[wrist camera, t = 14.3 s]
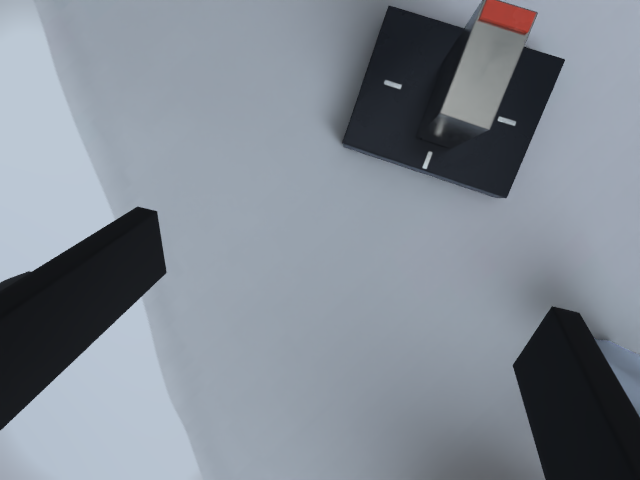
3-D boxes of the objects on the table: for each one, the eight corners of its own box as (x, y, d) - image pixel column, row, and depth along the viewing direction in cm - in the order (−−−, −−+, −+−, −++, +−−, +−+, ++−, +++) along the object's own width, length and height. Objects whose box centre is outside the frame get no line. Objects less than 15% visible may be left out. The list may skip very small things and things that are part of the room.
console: (342, 146, 30) (341, 143, 28) (386, 17, 28) (389, 3, 26) (496, 198, 29) (507, 198, 27) (551, 68, 28) (567, 58, 26)
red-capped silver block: (451, 149, 27) (491, 129, 19) (415, 137, 28) (440, 112, 19) (483, 67, 26) (541, 9, 18) (446, 55, 26) (486, -8, 18)
